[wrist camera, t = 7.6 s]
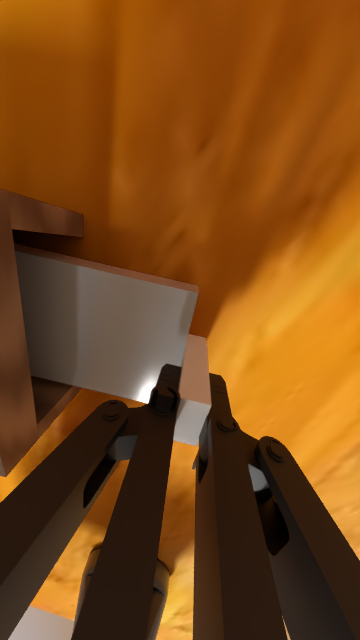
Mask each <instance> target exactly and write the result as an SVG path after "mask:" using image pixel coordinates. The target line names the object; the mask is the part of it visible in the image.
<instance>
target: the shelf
mask: <svg viewBox="0 0 360 640" xmlns="http://www.w3.org/2000/svg"><path fill="white" fill-rule="evenodd" d="M12 229H16V230H25V231H34V232H42V233H51V234H59V235H68V236H77V237H83V214H79V213H76V212H73V211H70V210H67V209H63V208H60V207H57V206H54V205H50V204H47V203H44V202H41V201H38V200H34V199H31V198H28V197H25V196H22V195H18V194H15V193H12V192H9V191H6V190H2V189H0V476H3V477H7V475H8V474H9V473H10V472H11V471H12V469H13V468H14V467H15V466H16V465H17V464H18V462H19V461H20V460H21V459H22V458H23V457H24V455H25V454H26V453H27V452H28V451H29V450H30V448H31V447H32V446H33V445H34V444H35V442H36V441H37V440H38V439H39V438H40V437H41V435H42V434H43V433H44V432H45V431H46V430H47V428H48V427H49V426H50V425H51V424H52V423H53V421H54V420H55V419H56V418H57V417H58V416H59V414H60V413H61V412H62V411H63V410H64V408H65V407H66V406H67V405H68V404H69V403H70V401H71V400H72V399H73V398H74V397H75V396H76V394H77V393H78V392H79V391H80V390H81V389H82V387H77V386H73V385H69V384H65V383H61V382H57V381H52V380H48V379H44V378H40V377H36V376H31V375H30V367H29V359H28V352H27V344H26V336H25V328H24V320H23V313H22V305H21V297H20V289H19V281H18V274H17V266H16V258H15V250H14V242H13V235H12Z"/></svg>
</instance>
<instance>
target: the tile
mask: <svg viewBox="0 0 360 640" xmlns="http://www.w3.org/2000/svg"><path fill="white" fill-rule="evenodd" d="M14 250H15V258H16V266H17V274H18V281H19V289H20V297H21V305H22V313H23V320H24V328H25V336H26V344H27V352H28V359H29V367H30V375H31V376H36V377H40V378H44V379H48V380H52V381H57V382H61V383H65V384H69V385H73V386H77V387H82V388H86V389H90V390H94V391H98V392H102V393H107V394H111V395H115V396H119V397H123V398H128V399H132V400H136V401H140V402H144V403H149V398H150V392H151V391H152V389H153V388H154V387H155V386H156V383H157V380H158V377H159V374H160V371H161V368H162V367H163V366H164V365H165V364H166V363H167V364H172V365H176V366H180V365H181V361H182V357H183V353H184V349H185V345H186V341H187V337H188V333H189V329H190V326H191V322H192V318H193V314H194V310H195V306H196V302H197V298H198V294H199V286H198V285H194V284H189V283H185V282H180V281H176V280H172V279H167V278H163V277H159V276H154V275H150V274H145V273H141V272H137V271H132V270H128V269H124V268H119V267H115V266H110V265H106V264H102V263H97V262H93V261H89V260H84V259H80V258H75V257H71V256H67V255H62V254H58V253H54V252H49V251H45V250H40V249H36V248H32V247H27V246H23V245H19V244H14Z"/></svg>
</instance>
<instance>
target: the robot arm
mask: <svg viewBox="0 0 360 640" xmlns="http://www.w3.org/2000/svg"><path fill="white" fill-rule="evenodd" d="M226 389H227V388H226V383H225V381H224V379H223V378H222V377H221V376H220V375H216V374H212V373H209V367H208V355H207V342H206V338H204V337H200V336H196V335H192V334H188V337H187V341H186V345H185V349H184V353H183V357H182V361H181V365H180V366H176V365H172V364H167V363H166V364H165V365H164V366H163V367H162V368H161V371H160V374H159V377H158V380H157V383H156V386H155V387H154V388H153V389H152V391H151V392H150V398H149V403H147V404H146V405H144V406H142V407H137V408H128V407H127V405H126V404H125V403H123V402H122V401H118V400H109V401H106V402H104V403H102V404H101V405H100V406H98V407H97V408H96V409H95V410H94V411H93V412H92V413H91V414H90V415H89V416H88V417H87V418H86V419H85V420H84V421H83V422H82V423H81V424H80V425H79V426H78V427H77V428H76V429H75V430H74V431H73V432H72V433H71V434H70V435H69V436H68V437H67V438H66V439H65V440H64V441H63V442H62V443H61V444H60V445H59V446H58V447H57V448H56V449H55V450H54V451H53V452H52V453H51V454H50V455H49V456H48V457H47V458H46V459H45V460H43V461H42V462H41V463H40V464H39V465H38V466H37V467H36V468H35V469H34V470H33V471H32V472H31V473H30V474H29V475H28V476H27V477H26V478H25V479H24V480H23V481H22V482H21V483H20V484H19V485H18V486H17V487H16V488H15V489H14V490H13V491H12V492H11V493H10V494H9V495H8V496H7V497H6V498H5V499H4V500H3V501H2V502H1V503H0V640H8V638H9V637H10V635H11V634H12V632H13V631H14V629H15V627H16V626H17V624H18V623H19V621H20V619H21V618H22V616H23V615H24V613H25V611H26V610H27V608H28V607H29V605H30V604H31V602H32V600H33V599H34V597H35V596H36V594H37V592H38V591H39V589H40V588H41V586H42V584H43V583H44V581H45V580H46V578H47V576H48V575H49V573H50V572H51V570H52V569H53V567H54V565H55V564H56V562H57V561H58V559H59V557H60V556H61V554H62V553H63V551H64V549H65V548H66V546H67V545H68V543H69V542H70V540H71V538H72V537H73V535H74V534H75V532H76V530H77V529H78V527H79V526H80V524H81V522H82V521H83V519H84V518H85V516H86V514H87V513H88V511H89V510H90V508H91V507H92V505H93V503H94V502H95V500H96V499H97V497H98V495H99V494H100V492H101V491H102V489H103V487H104V486H105V484H106V483H107V481H108V480H109V478H110V476H111V475H112V473H113V472H114V470H115V468H116V467H117V465H118V464H119V462H120V461H121V460H128V459H130V462H129V465H128V468H127V471H126V474H125V477H124V480H123V483H122V486H121V489H120V492H119V495H118V498H117V501H116V504H115V507H114V510H113V513H112V516H111V520H110V523H109V526H108V529H107V532H106V535H105V538H104V541H103V544H102V547H101V548H100V549H97V550H94V551H93V552H91V554H90V555H89V558H88V560H87V563H86V566H85V569H84V572H83V575H82V580H81V586H80V592H79V598H78V604H77V610H76V616H75V622H74V628H73V634H72V638H71V640H155V639H156V636H157V632H158V629H159V625H160V621H161V618H162V614H163V611H164V607H165V603H166V600H167V595H168V586H169V571H168V569H167V568H166V567H165V566H164V565H163V564H162V563H161V562H159V561H158V560H157V555H158V548H159V541H160V533H161V526H162V519H163V511H164V504H165V497H166V489H167V482H168V475H169V467H170V460H171V453H172V445H173V440H174V441H178V442H182V443H186V444H190V445H194V446H197V443H198V441H199V450H198V453H197V455H196V458H195V461H194V463H193V468H192V469H195V467H196V493H195V550H194V607H193V640H288V639H287V635H286V630H285V626H284V622H285V624H286V627H287V630H288V633H289V636H290V639H291V640H360V560H359V559H358V557H357V556H356V554H355V553H354V551H353V550H352V548H351V547H350V545H349V543H348V542H347V540H346V539H345V537H344V536H343V534H342V533H341V531H340V529H339V528H338V526H337V525H336V523H335V522H334V520H333V519H332V517H331V515H330V514H329V512H328V511H327V509H326V508H325V506H324V505H323V503H322V501H321V500H320V498H319V497H318V495H317V494H316V492H315V491H314V489H313V487H312V486H311V484H310V483H309V481H308V480H307V478H306V477H305V475H304V473H303V472H302V470H301V469H300V467H299V466H298V464H297V463H296V461H295V459H294V458H293V456H292V455H291V453H290V452H289V451H288V449H287V448H286V447H285V446H284V445H283V444H282V443H281V442H280V441H278V440H277V439H275V438H273V437H269V436H264V437H262V438H261V439H260V440H257V439H255V438H253V437H251V436H249V435H248V434H246V433H244V432H243V431H242V430H241V429H240V427H239V425H238V423H237V422H236V420H235V419H234V418H233V417H232V414H231V409H230V404H229V399H228V395H227V394H228V393H227V390H226ZM282 616H283V617H282ZM283 619H284V622H283Z"/></svg>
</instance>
